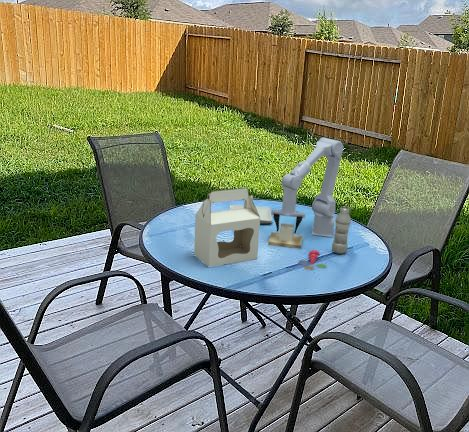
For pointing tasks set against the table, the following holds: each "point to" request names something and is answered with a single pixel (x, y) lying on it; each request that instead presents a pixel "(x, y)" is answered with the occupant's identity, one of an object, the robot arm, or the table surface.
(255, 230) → the gable box
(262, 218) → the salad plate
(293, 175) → the robot arm
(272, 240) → the plate
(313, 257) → the toy pieces
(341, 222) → the plastic bottle
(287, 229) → the pale matte cube
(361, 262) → the table surface
